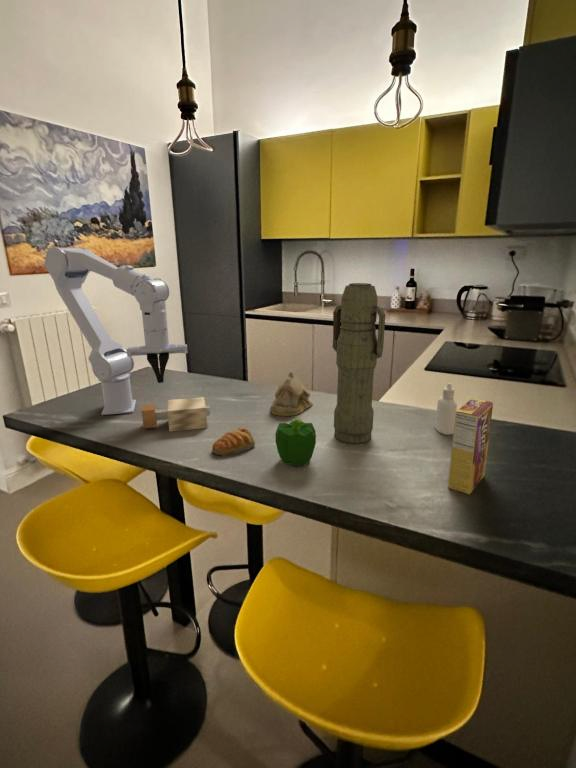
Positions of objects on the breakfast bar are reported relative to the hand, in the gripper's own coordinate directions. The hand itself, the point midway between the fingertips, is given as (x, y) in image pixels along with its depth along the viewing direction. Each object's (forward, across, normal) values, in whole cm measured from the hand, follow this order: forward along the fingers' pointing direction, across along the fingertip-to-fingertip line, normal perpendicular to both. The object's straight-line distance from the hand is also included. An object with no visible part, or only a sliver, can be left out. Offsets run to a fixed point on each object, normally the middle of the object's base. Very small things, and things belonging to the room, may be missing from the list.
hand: (160, 381), depth 110 cm
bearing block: (+9, +6, -7) cm, 13 cm away
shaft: (+9, +3, -7) cm, 12 cm away
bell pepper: (+10, +27, -33) cm, 44 cm away
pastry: (+10, +16, -24) cm, 30 cm away
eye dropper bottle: (+10, +66, -27) cm, 72 cm away
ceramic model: (+10, +34, -2) cm, 36 cm away
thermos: (+10, +43, -25) cm, 51 cm away
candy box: (+10, +56, -49) cm, 75 cm away
